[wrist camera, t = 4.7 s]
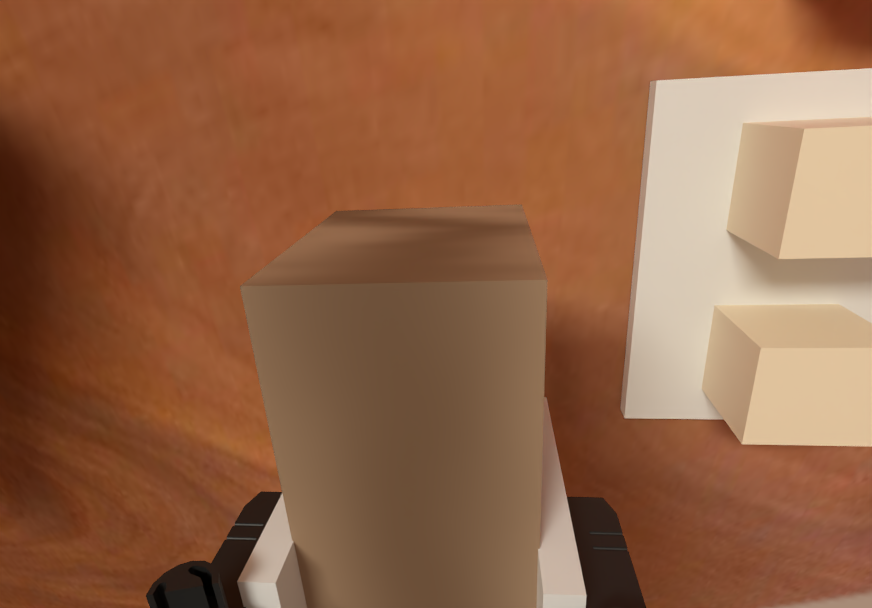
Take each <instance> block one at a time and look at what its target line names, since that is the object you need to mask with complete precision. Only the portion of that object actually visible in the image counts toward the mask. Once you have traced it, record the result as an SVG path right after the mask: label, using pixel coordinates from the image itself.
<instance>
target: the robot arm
mask: <svg viewBox="0 0 872 608" xmlns="http://www.w3.org/2000/svg"><path fill="white" fill-rule="evenodd" d="M146 597H147V600H148V603H149V606H150V608H307V605H306V600H305V595H304V590H303V585H302V581H301V576H300V571H299V566H298V561H297V556H296V551H295V546H294V541H292V538H291V533H290V528H289V523H288V518H287V513H286V508H285V503H284V499H283V494H282V492H260V493H259V494H258V495H257V496H256V497H254V498H253V499H252V500H251V501H250V502H249V503H248V504H247V505H245V507H244V508H243V510H242V512H241V513H240V515H239V517H238V518H237V520H236V522H235V526H233V527H232V529H231V530H230V532H229V534H228V536H227V540H225V541H224V542H223V544H222V546H221V548H220V549H219V551H218V553H217V554H216V556H215V558H214V560H213V561H212V563H208V562H206V561H190V562H187V563H184V564H181V565H178V566H176V567H174V568H173V569H171V570H169V571H167V572H166V573H164V574H163V575H162V576H161V577H160V578H159V579H158V580H157V581H156V582H154V583H153V585H152V586H151V588H150V590H149V591H148V593H147V595H146ZM536 608H646V606H645V603H644V600H643V596H642V593H641V590H640V587H639V584H638V581H637V577H636V574H635V571H634V568H633V565H632V561H631V558H630V555H629V552H628V551H627V545H626V542H625V539H624V536H623V535H622V530H621V526H620V523H619V520H618V517H617V514H616V513H615V511H614V510H613V509H612V508H611V507H610V506H609V504H608V503H607V502H606V501H605V500H604V499H603V498H593V497H567V496H566V491H565V486H564V481H563V476H562V472H561V467H560V462H559V457H558V452H557V447H556V442H555V437H554V432H553V427H552V422H551V417H550V412H549V407H548V402H547V397H544V417H543V452H542V487H541V522H540V549H538V570H537V606H536Z"/></svg>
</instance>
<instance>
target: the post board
mask: <svg viewBox="0 0 872 608" xmlns="http://www.w3.org/2000/svg"><path fill="white" fill-rule="evenodd" d="M620 409H621V412H622V414H623V416H624V418H642V419H724V420H725V422H726V423H727V424H728V426H729V427H730V429H731V430H732V431H733V433H734V434H735V435H736V437H737V438H738V440H739V441H740V442H741V444H758V445H819V446H872V68H868V69H850V70H833V71H815V72H798V73H780V74H763V75H745V76H728V77H710V78H693V79H675V80H658V81H650V91H649V102H648V113H647V123H646V134H645V145H644V156H643V167H642V178H641V189H640V200H639V211H638V221H637V232H636V243H635V254H634V265H633V276H632V287H631V298H630V309H629V320H628V330H627V341H626V352H625V363H624V374H623V385H622V396H621V407H620Z"/></svg>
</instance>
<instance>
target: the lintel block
mask: <svg viewBox="0 0 872 608" xmlns="http://www.w3.org/2000/svg"><path fill="white" fill-rule="evenodd" d="M240 289H241V294H242V299H243V304H244V308H245V313H246V318H247V323H248V328H249V333H250V338H251V343H252V347H253V352H254V357H255V362H256V367H257V372H258V377H259V382H260V386H261V391H262V396H263V401H264V406H265V411H266V416H267V421H268V425H269V430H270V435H271V440H272V445H273V450H274V455H275V460H276V464H277V469H278V474H279V479H280V484H281V489H282V494H283V499H284V503H285V508H286V513H287V518H288V523H289V528H290V533H291V538H292V541H294V546H295V551H296V556H297V561H298V566H299V571H300V576H301V581H302V585H303V590H304V595H305V600H306V605H307V608H536V606H537V570H538V549H540V522H541V487H542V452H543V417H544V382H545V347H546V312H547V277H546V274H545V271H544V268H543V265H542V262H541V260H540V257H539V254H538V251H537V248H536V245H535V242H534V239H533V236H532V233H531V230H530V227H529V224H528V221H527V219H526V216H525V213H524V210H523V207H522V205H495V206H467V207H439V208H411V209H383V210H354V211H336V212H334V213H333V214H332V215H331V216H329V217H328V218H327V219H325V220H324V221H323V222H322V223H320V224H319V225H318V226H316V227H315V228H314V229H313V230H311V231H310V232H309V233H308V234H306V235H305V236H304V237H302V238H301V239H300V240H299V241H297V242H296V243H295V244H293V245H292V246H291V247H290V248H288V249H287V250H286V251H284V252H283V253H282V254H281V255H279V256H278V257H277V258H276V259H274V260H273V261H272V262H270V263H269V264H268V265H267V266H265V267H264V268H263V269H261V270H260V271H259V272H258V273H256V274H255V275H254V276H252V277H251V278H250V279H249V280H247V281H246V282H245V283H243V284H242V285H241V286H240Z"/></svg>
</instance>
